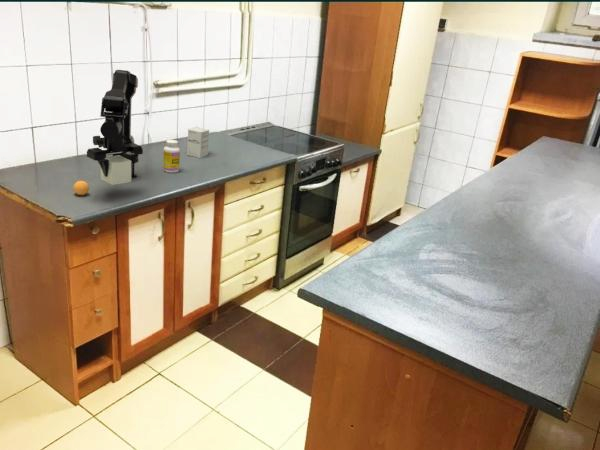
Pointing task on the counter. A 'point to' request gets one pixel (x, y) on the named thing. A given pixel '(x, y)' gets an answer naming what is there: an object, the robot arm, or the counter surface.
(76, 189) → the ball
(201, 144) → the supplement box
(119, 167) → the sage green cuboid
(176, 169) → the supplement bottle
